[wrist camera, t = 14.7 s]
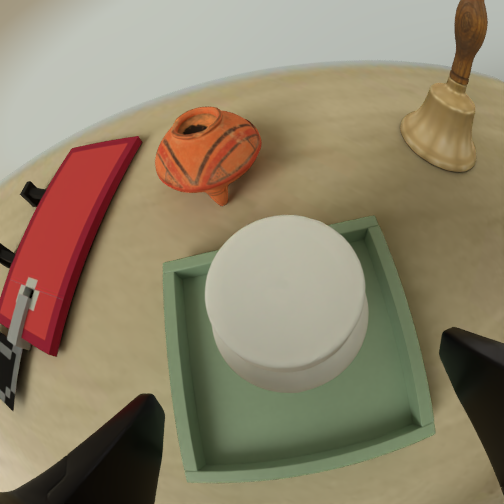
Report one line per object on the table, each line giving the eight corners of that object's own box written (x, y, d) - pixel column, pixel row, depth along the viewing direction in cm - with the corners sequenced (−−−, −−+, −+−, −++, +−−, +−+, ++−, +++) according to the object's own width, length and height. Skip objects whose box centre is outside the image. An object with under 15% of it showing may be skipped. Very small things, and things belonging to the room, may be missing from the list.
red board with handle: (-20, 371, 18) (48, 435, 14) (-37, 366, 15) (25, 435, 12) (61, 158, 30) (143, 145, 27) (50, 145, 28) (133, 126, 25)
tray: (422, 429, 12) (436, 434, 10) (199, 473, 13) (186, 482, 11) (369, 230, 18) (374, 214, 16) (175, 274, 19) (162, 262, 17)
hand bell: (399, 105, 23) (413, -34, 9) (468, 129, 21) (503, 2, 7) (399, 156, 20) (429, -27, 6) (480, 184, 18) (546, 31, 4)
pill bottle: (315, 280, 17) (322, 166, 8) (358, 359, 14) (431, 323, 5) (234, 320, 16) (155, 243, 8) (271, 402, 14) (223, 432, 5)
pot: (155, 221, 21) (120, 148, 16) (193, 164, 26) (173, 101, 21) (255, 227, 19) (235, 135, 14) (276, 163, 24) (266, 90, 18)
